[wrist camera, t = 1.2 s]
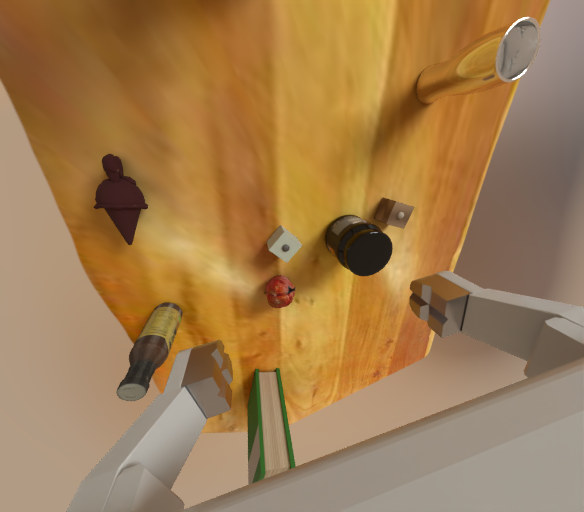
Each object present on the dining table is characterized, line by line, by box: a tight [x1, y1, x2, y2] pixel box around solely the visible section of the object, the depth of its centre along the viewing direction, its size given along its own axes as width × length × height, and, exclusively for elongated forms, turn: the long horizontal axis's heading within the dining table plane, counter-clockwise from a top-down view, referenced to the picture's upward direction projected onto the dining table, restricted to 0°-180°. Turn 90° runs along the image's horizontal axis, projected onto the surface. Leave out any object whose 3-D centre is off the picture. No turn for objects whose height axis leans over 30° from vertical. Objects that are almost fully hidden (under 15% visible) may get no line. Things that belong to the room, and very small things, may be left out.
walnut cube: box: [374, 198, 414, 229], centre depth 49 cm, size 5×5×5 cm
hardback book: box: [248, 368, 295, 485], centre depth 58 cm, size 18×7×24 cm, turn 167°
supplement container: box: [325, 215, 392, 276], centre depth 46 cm, size 10×10×12 cm
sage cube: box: [267, 225, 302, 263], centre depth 46 cm, size 5×5×5 cm
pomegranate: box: [265, 275, 295, 308], centre depth 50 cm, size 7×7×10 cm
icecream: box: [94, 154, 148, 245], centre depth 36 cm, size 7×7×15 cm
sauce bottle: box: [117, 303, 182, 401], centre depth 42 cm, size 6×6×20 cm
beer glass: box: [416, 17, 541, 104], centre depth 35 cm, size 7×7×15 cm
